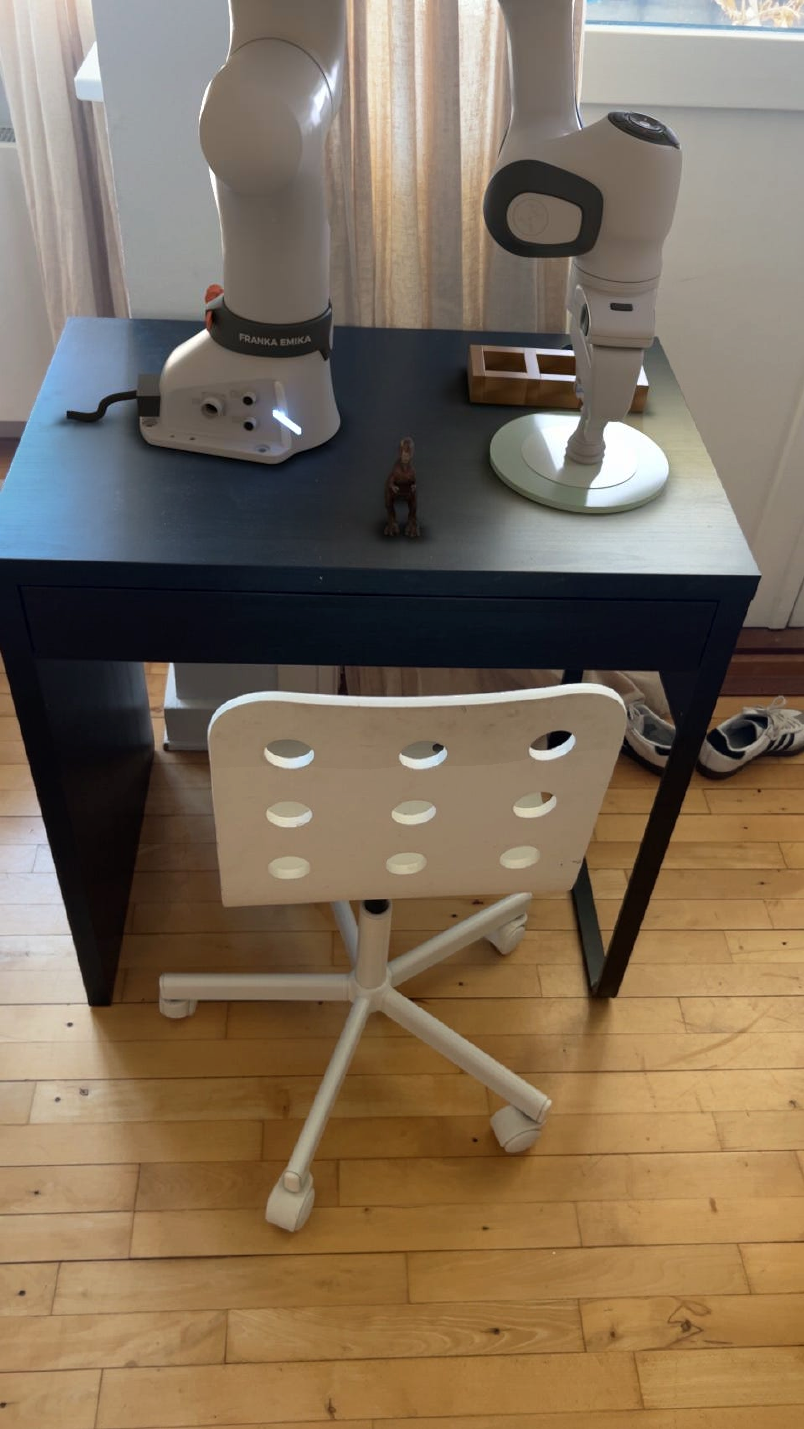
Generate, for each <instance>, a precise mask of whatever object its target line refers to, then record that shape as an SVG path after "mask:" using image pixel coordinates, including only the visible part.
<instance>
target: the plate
mask: <svg viewBox="0 0 804 1429" xmlns="http://www.w3.org/2000/svg"><path fill="white" fill-rule="evenodd" d="M580 418H581V412H580V411H579V412H578V411H577V412H576V411H559V410H558V411H543V412H537V413H531V414H527V415H524V416H520V417H518V418H515V419H513V420H511V421H509V422H507V423H506V424H504V425H502V426H501V427H500V428H498V430H497V431H496V433H495V434H494V435H493V437H492V439H491V442H490V446H489V455H488V456H489V461H490V462H489V463H490V465H491V467H492V469H493V471H494V472H495V474H496V475H497V477H498V478H499V479H500V480H501V481H502V482H503V483H504V484H506V485H507V486H508V487H509V488H511V489H512V490H513V491H515V492H516V493H518V494H519V495H521V496H524V497H525V498H528V499H529V500H531V501H534V502H537V503H539V504H542V505H545V506H548V507H551V508H555V509H559V510H562V511H569V512H574V513H585V514H609V513H610V514H611V513H619V512H624V511H629V510H633V509H636V508H639V507H642V506H644V505H646V504H649V503H650V502H651V501H653V500H655V499H656V498H657V497H658V496H659V495H660V494H661V493H662V492H663V491H664V489H665V487H666V485H667V483H668V479H669V475H670V466H669V461H668V459H667V457H666V454H665V453H664V451H663V450H662V449H661V447H659V445H658V444H657V443H656V442H654V441H653V439H651V438H650V437H649V436H648V435H645V434H644V433H642V432H641V431H639V430H638V429H636V428H634V427H632V426H631V425H628V424H626V423H623V422H608V424H607V425H606V427H605V428H604V433H603V437H604V441H605V444H606V449H605V451H604V452H605V456H604V458H603V459H602V460H601V461H600V462H598V463H596V464H591V465H584V464H579V463H576V462H574V461H572V460H571V459H570V458H569V457H568V455H567V454H566V450H565V448H566V446H567V445H568V444H567V441H568V439H569V437H570V436H571V435H572V434H573V432H574V431H575V430H576V429H577V426H578V423H579V421H580Z"/></svg>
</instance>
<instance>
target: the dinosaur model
mask: <svg viewBox="0 0 804 1429" xmlns="http://www.w3.org/2000/svg"><path fill="white" fill-rule="evenodd" d="M397 447H398V454H399V455H398V458H397V459H396V461H395V462H394V463H393V466H392V469H391V470H390V473H389V474H388V475H387V478H386V481H385V484H384V501H385V502H384V505H385V508H386V511H387V516H388V518H387V519H388V520H387V526H386V527H385V529H384V530H383V532H384V535H385V536H390V537H393V536H395V535H396V536H397V535H399V533H400V531H401V529H400V526H399V524H398V523H399V522H398V518H397V511H396V508H395V505H394V502H395V501H399V502H402V503H403V502H405V503H406V504H407V508H408V514H407V524H406V526H405V528H404V535H405V536H409V537H411V538H414V537H419V536H420V535H421V534H420V533H421V532H420V526H419V520H418V517H417V510H418V489H417V488H418V480H417V473H416V468H415V466H414V465H413V463H412V459H413V458H412V457H413V455H414V452H415V451H414V450H415V446H414V441H413V439H412V438H411V437H402V438H401V440H400V441H399V443H398V446H397Z"/></svg>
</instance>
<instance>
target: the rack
mask: <svg viewBox="0 0 804 1429" xmlns="http://www.w3.org/2000/svg"><path fill="white" fill-rule="evenodd" d="M466 373H467V382H468V393H469V402H470V403H477V404H479V403H481V404H492V405H493V404H494V405H495V404H496V405H512V406H529V407H545V408H546V407H547V408H563V409H564V408H565V409H581V407H582V406H583V404H584V403H583V401H582V399H581V398H577V397H576V395H575V392H574V383H575V378H576V360H575V355H574V351H573V350H568V349H552V348H536V347H521V346H520V347H519V346H518V347H517V346H505V345H504V346H501V345H485V344H483V345H481V344H470V345H469V352H468V361H467V372H466ZM649 389H650V384H649V381H648V378H647V374H646V372H645V369H644V366H643V364H642V367H641V371H640V375H639V379H638V382H637V386H636V389H635V393H634V396H633V399H632V402H631V406H630V409H629V411H628V412H632V413H633V412H636V413H644V410H645V407H646V402H647V398H648V393H649Z"/></svg>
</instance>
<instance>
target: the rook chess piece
mask: <svg viewBox="0 0 804 1429" xmlns="http://www.w3.org/2000/svg"><path fill="white" fill-rule="evenodd" d="M581 399H582V401H583V403H584V404H583V406H582V407H581V409H580V413H581V418H580V421H579V423H578V426H577V429H576V430H575V431H574V432H573V434H572V435H571V436H570V437H569V439H568V441H567V444H568V445H567V446H566V448H565V450H566V454H567V455H568V457H569V458H570V459H571V460H572V461H574V462H576V463H579V464H584V465H591V464H596V463H598V462H600V461H601V460H602V459H603V458H604V456H605V452H604V451H605V449H606V444H605V441H604V437H602V440H601V441H600V442H598V443H594V442H587V441H586V440H585V436H584V429H585V422H586V420H588V417H589V415H588V410H587V406H586V402H585V397H584V393H582V394H581Z"/></svg>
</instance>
